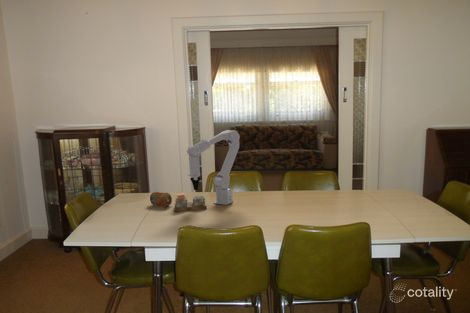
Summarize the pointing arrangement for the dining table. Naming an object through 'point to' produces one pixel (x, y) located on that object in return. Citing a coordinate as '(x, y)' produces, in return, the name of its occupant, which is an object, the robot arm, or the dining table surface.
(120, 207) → the dining table surface
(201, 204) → the press board
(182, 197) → the terracotta plunger
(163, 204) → the tin
